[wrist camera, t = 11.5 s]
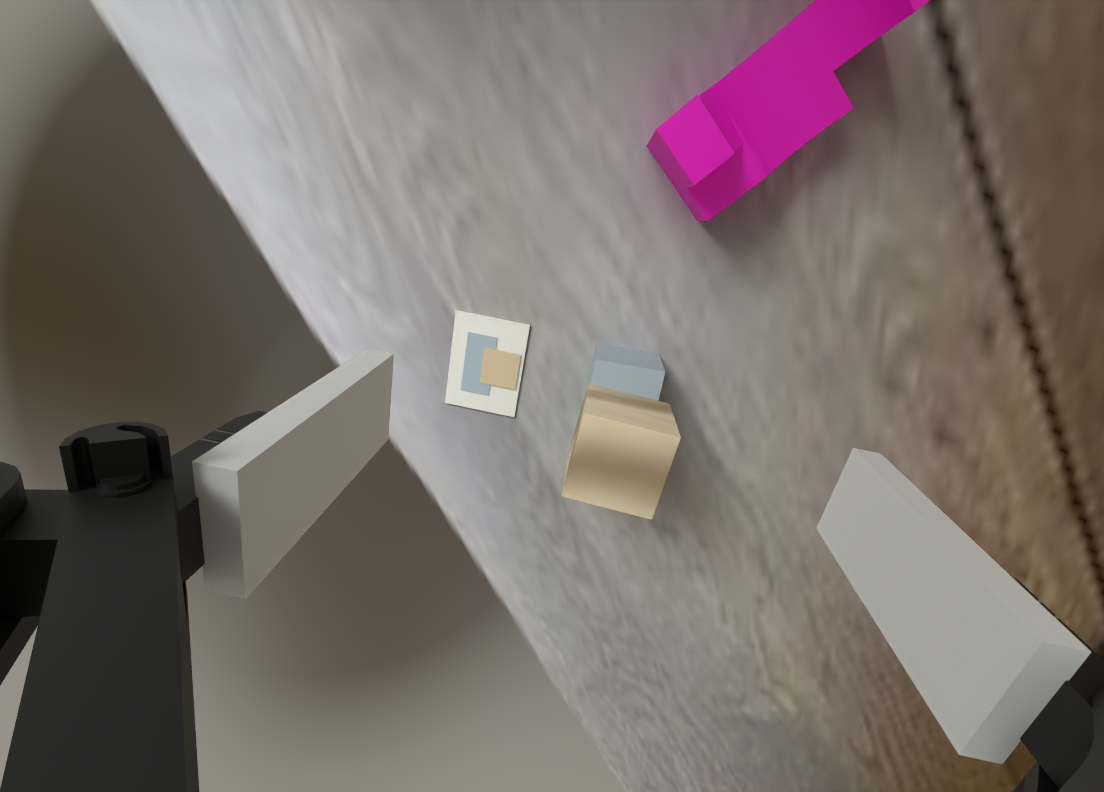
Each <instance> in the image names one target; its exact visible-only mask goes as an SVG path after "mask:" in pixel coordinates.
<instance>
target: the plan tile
mask: <svg viewBox="0 0 1104 792" xmlns="http://www.w3.org/2000/svg"><path fill="white" fill-rule="evenodd" d="M529 329H530V325H528V324H523V323H518V322H513V321H509V320H504V319H499V318H494V317H489V316H484V315H479V314H474V313H469V312H464V311H460V310H456V314H455V323H454V331H453V340H452V348H451V357H450V365H449V374H448V382H447V391H446V399H445V403H448V404H453V405H458V406H463V407H467V408H472V409H477V410H482V411H486V412H491V413H496V414H501V415H506V416H510V417H515V411H516V405H517V399H518V393H519V388H520V382H521V376H522V370H523V364H524V358H525V352H526V347H527V341H528V335H529Z"/></svg>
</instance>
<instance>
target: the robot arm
mask: <svg viewBox="0 0 1104 792" xmlns="http://www.w3.org/2000/svg"><path fill="white" fill-rule="evenodd" d="M393 355H394V354H391V353H386V352H381V351H376V350H371V349H366V350H365V351H363V352H361V353H360V354H358V355H357V356H355V357H354V358H352V359H351V360H349V361H348V362H346V363H344V364H343V365H341V366H340V367H338V368H337V369H335V370H334V371H332V372H331V373H329V374H327V375H326V376H324V377H323V378H321V379H320V380H318V381H316V382H315V383H313V384H312V385H310V386H309V387H307V388H306V389H304V390H303V391H301V392H299V393H298V394H296V395H295V396H293V397H292V398H290V399H288V400H287V401H285V402H284V403H282V404H281V405H279V406H278V407H276V408H275V409H273V410H271V411H270V412H268V413H266V412H262V411H257V412H253V413H250V414H247V415H244V416H241V417H237V418H234V419H233V420H231V421H230V422H228V423H226V424H224V425H223V426H221V427H219V428H218V429H217V431H213V432H211V433H209V434H208V435H206V436H204V437H203V439H202V440H198V441H196V442H194V443H193V444H191V445H189V446H188V447H186V448H185V449H183V450H181V451H179V452H178V453H176V454H175V455H173V456H170V448H169V440H168V435H167V433H166V431H165V430H164V429H163V428H161V427H159V426H156V425H154V424H149V423H142V422H117V423H110V424H104V425H98V426H94V427H91V428H87V429H84V430H81V431H78V432H77V433H75V434H73V435H71V436H69V437H67V438H66V439H65V440H64V441H63V442H62V443H61V445H60V446H59V448H60V453H61V458H62V463H63V467H64V472H65V477H66V481H67V486H68V490H25V489H24V486H23V481H22V478H21V473H20V472H19V470H18V469H17V468H16V466H13V465H10V464H7V463H4V462H0V685H1V683H2V682H3V680H4V678H5V677H6V675H7V674H8V672H9V670H10V669H11V667H12V666H13V664H14V662H15V661H16V659H17V658H18V656H19V655H20V653H21V651H22V650H23V648H24V647H25V645H26V643H27V642H28V640H29V638H30V637H31V635H32V634H33V632H34V631H35V629H36V627H37V626H38V628H37V632H36V637H35V641H34V645H33V650H32V654H31V658H30V663H29V667H28V672H27V676H26V680H25V684H24V689H23V693H22V698H21V702H20V706H19V710H18V715H17V719H16V723H15V728H14V732H13V736H12V741H11V745H10V749H9V753H8V758H7V762H6V767H5V771H4V775H3V779H2V784H1V788H0V792H199V779H198V763H197V748H196V731H195V715H194V699H193V681H192V665H191V648H190V632H189V616H188V600H187V590H186V580H187V579H189V577H190V576H192V575H193V574H194V573H195V572H196V571H197V570H198V569H199V568H201V566H203V572H204V582H205V590H206V591H210V592H215V593H219V594H224V595H229V596H233V597H238V598H242V599H246V598H247V597H248V596H249V595H250V593H251V592H252V591H253V590H254V589H255V587H257V586H258V585H259V583H260V582H261V581H262V580H263V579H264V578H265V577H266V576H267V574H268V573H269V572H270V571H271V570H272V569H273V568H274V567H275V565H276V564H277V563H278V562H279V561H280V560H281V559H282V558H283V557H284V555H285V554H286V553H287V552H288V551H289V550H290V549H291V548H292V546H293V545H294V544H295V543H296V542H297V541H298V540H299V538H300V537H301V536H302V535H303V534H304V533H305V532H306V531H307V530H308V529H309V527H310V526H311V525H312V524H313V523H314V522H315V521H316V520H317V518H318V517H319V516H320V515H321V514H322V513H323V512H324V510H325V509H326V508H327V507H328V506H329V505H330V504H331V503H332V502H333V501H334V499H335V498H336V497H337V496H338V495H339V494H340V493H341V492H342V490H343V489H344V488H345V487H346V486H347V485H348V484H349V483H350V481H351V480H352V479H353V478H354V477H355V476H356V475H357V474H358V472H359V471H360V470H361V469H362V468H363V467H364V466H365V464H366V463H367V462H368V461H369V460H370V459H371V458H372V457H373V456H374V455H375V453H376V452H377V451H378V450H379V449H380V448H381V447H382V446H383V444H384V443H385V442H386V441H387V440H388V434H389V418H390V403H391V387H392V371H393ZM816 529H817V531H818V532H819V534H820V535H821V537H822V539H823V540H824V542H825V543H826V545H827V546H828V548H829V550H830V551H831V553H832V554H833V556H834V558H835V559H836V561H837V562H838V564H839V565H840V567H841V569H842V570H843V572H844V573H845V575H846V577H847V578H848V580H849V581H850V583H851V585H852V586H853V588H854V589H855V591H856V592H857V594H858V596H859V597H860V599H861V600H862V602H863V604H864V605H865V607H866V608H867V610H868V611H869V613H870V615H871V616H872V618H873V619H874V621H875V623H876V624H877V626H878V627H879V629H880V631H881V632H882V634H883V635H884V637H885V638H886V640H887V642H888V643H889V645H890V646H891V648H892V650H893V651H894V653H895V654H896V656H897V657H898V659H899V661H900V662H901V664H902V665H903V667H904V669H905V670H906V672H907V673H908V675H909V676H910V678H911V680H912V681H913V683H914V684H915V686H916V688H917V689H918V691H919V692H920V694H921V696H922V697H923V699H924V700H925V702H926V703H927V705H928V707H929V708H930V710H931V711H932V713H933V715H934V716H935V718H936V719H937V721H938V722H939V724H940V726H941V727H942V729H943V730H944V732H945V734H946V735H947V737H948V738H949V740H950V742H951V743H952V745H953V746H954V748H955V749H956V751H957V753H958V754H959V755H962V756H967V757H971V758H976V759H980V760H985V761H989V762H994V763H999V764H1003V763H1004V761H1005V760H1006V759H1007V758H1008V756H1009V755H1010V754H1011V752H1012V751H1013V750H1014V749H1015V747H1016V746H1017V745H1018V744H1019V742H1020V741H1022V742H1023V743H1024V745H1025V746H1026V747H1027V748H1028V750H1029V751H1030V752H1031V754H1032V755H1033V756H1034V758H1035V759H1036V760H1037V762H1036V763H1035V765H1034V766H1033V767H1032V768H1031V769H1030V770H1029V772H1028V773H1027V774H1026V775H1025V776H1024V778H1023V779H1022V780H1021V781H1020V782H1019V784H1018V785H1017V786H1016V787H1015V788H1014V790H1013V791H1012V792H1104V660H1103V659H1102V658H1101V657H1100V656H1099V655H1097V654H1096V653H1095V652H1094V651H1093V650H1092V649H1091V648H1090V647H1089V646H1088V645H1087V644H1086V643H1085V642H1084V641H1083V640H1081V639H1080V638H1079V637H1078V636H1077V635H1076V634H1075V633H1074V632H1073V631H1072V630H1071V629H1070V628H1069V627H1068V626H1066V625H1065V624H1064V623H1063V622H1062V621H1061V620H1060V619H1057V618H1055V614H1054V613H1053V612H1051V611H1050V610H1049V609H1048V608H1047V607H1046V606H1045V605H1044V604H1043V603H1040V602H1038V598H1036V597H1035V596H1034V595H1033V594H1032V593H1031V592H1030V591H1029V590H1028V589H1027V588H1026V587H1025V586H1024V585H1023V584H1022V583H1020V582H1019V581H1018V580H1017V579H1016V578H1014V577H1013V576H1011V575H1010V574H1008V573H1007V572H1006V571H1005V570H1004V569H1003V568H1002V567H1001V566H1000V565H999V564H997V563H996V562H995V561H994V560H993V559H992V558H991V557H990V556H989V555H988V554H987V553H986V552H985V551H984V550H983V549H982V548H980V547H979V546H978V545H977V544H976V543H975V542H974V541H973V540H972V539H971V538H970V537H969V536H968V535H967V534H966V533H965V532H963V531H962V530H961V529H960V528H959V527H958V526H957V525H956V524H955V523H954V522H953V521H952V520H951V519H950V518H949V517H948V516H946V515H945V514H944V513H943V512H942V511H941V510H940V509H939V508H938V507H937V506H936V505H935V504H934V503H933V502H932V501H931V500H929V499H928V498H927V497H926V496H925V495H924V494H923V493H922V492H921V491H920V490H919V489H918V488H917V487H916V486H915V485H914V484H912V483H911V482H910V481H909V480H908V479H907V478H906V477H905V476H904V475H903V474H902V473H901V472H900V471H899V470H898V469H896V468H895V467H894V466H893V465H892V464H891V463H890V462H889V461H888V460H887V459H886V458H885V457H884V456H883V455H882V454H880V453H875V452H871V451H866V450H861V449H856V448H853V449H852V452H851V454H850V456H849V458H848V460H847V462H846V465H845V467H844V469H843V471H842V473H841V476H840V478H839V480H838V482H837V484H836V487H835V489H834V491H833V493H832V495H831V497H830V500H829V502H828V504H827V506H826V508H825V511H824V513H823V515H822V517H821V519H820V521H819V524H818V526H817V528H816Z"/></svg>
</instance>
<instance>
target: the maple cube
mask: <svg viewBox="0 0 1104 792" xmlns="http://www.w3.org/2000/svg"><path fill="white" fill-rule="evenodd" d="M680 439H681V436H680V433H679V430H678V427H677V424H676V421H675V418H674V415H673V412H672V409H671V406H670V403H666V402H662V401H658V400H654V399H650V398H646V397H642V396H638V395H634V394H630V393H626V392H622V391H618V390H614V389H610V388H606V387H603V386H599V385H595V384H591V383H588V385H587V389H586V392H585V396H584V400H583V403H582V407H581V411H580V415H579V418H578V422H577V426H576V429H575V433H574V437H573V440H572V444H571V448H570V451H569V455H568V461H567V467H566V473H565V479H564V486H563V492H562V497H565V498H569V499H573V500H577V501H581V502H585V503H589V504H593V505H597V506H600V507H604V508H608V509H612V510H616V511H620V512H624V513H628V514H631V515H635V516H639V517H643V518H647V519H651V520H652V518H653V515H654V512H655V509H656V507H657V504H658V501H659V498H660V495H661V493H662V490H663V487H664V484H665V481H666V478H667V476H668V473H669V470H670V467H671V464H672V462H673V459H674V456H675V453H676V450H677V447H678V445H679V442H680Z"/></svg>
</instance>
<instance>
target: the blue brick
mask: <svg viewBox="0 0 1104 792" xmlns="http://www.w3.org/2000/svg"><path fill="white" fill-rule="evenodd" d="M664 376H665V369H664V366H663V364H662V361H661V358H660V356H659V354H654V353H649V352H643V351H638V350H632V349H626V348H621V347H615V346H609V345H604V344H598V343H596V348H595V353H594V359H593V364H592V369H591V374H590V379H589V383H591V384H595V385H599V386H603V387H606V388H610V389H614V390H618V391H622V392H626V393H630V394H634V395H638V396H642V397H646V398H650V399H654V400H659V396H660V392H661V388H662V384H663V380H664Z"/></svg>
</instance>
